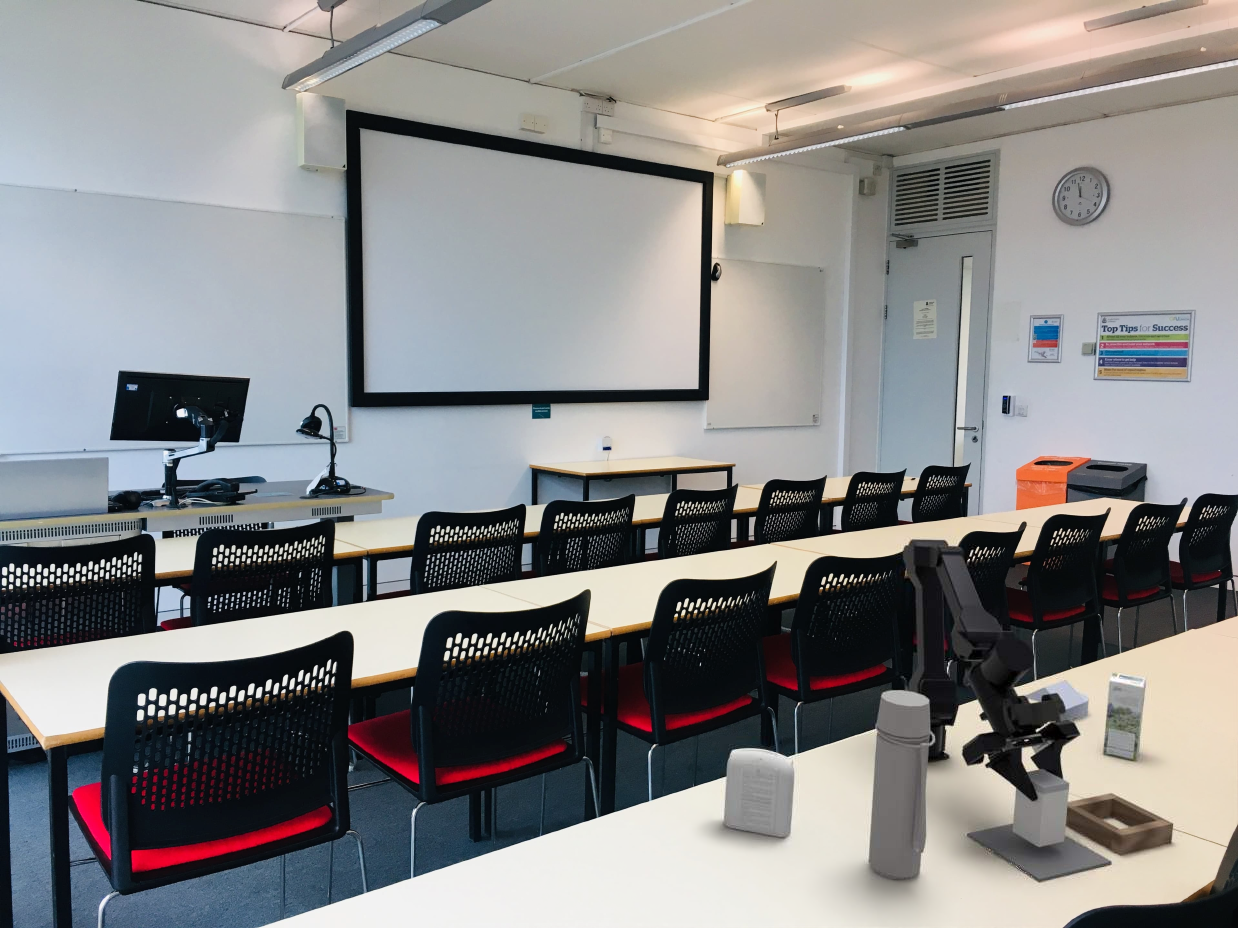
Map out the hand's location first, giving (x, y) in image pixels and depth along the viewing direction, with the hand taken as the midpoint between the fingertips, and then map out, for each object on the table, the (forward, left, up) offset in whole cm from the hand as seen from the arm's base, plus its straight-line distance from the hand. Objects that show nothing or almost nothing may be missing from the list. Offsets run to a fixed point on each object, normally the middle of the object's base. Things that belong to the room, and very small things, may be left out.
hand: (1049, 797), depth 144 cm
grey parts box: (0, +1, -7) cm, 7 cm away
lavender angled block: (+50, +43, -9) cm, 67 cm away
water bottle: (-24, +3, -9) cm, 26 cm away
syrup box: (+44, +23, -9) cm, 51 cm away
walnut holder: (+16, +1, -9) cm, 18 cm away
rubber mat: (0, +1, -9) cm, 9 cm away
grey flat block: (-36, +21, -9) cm, 43 cm away
